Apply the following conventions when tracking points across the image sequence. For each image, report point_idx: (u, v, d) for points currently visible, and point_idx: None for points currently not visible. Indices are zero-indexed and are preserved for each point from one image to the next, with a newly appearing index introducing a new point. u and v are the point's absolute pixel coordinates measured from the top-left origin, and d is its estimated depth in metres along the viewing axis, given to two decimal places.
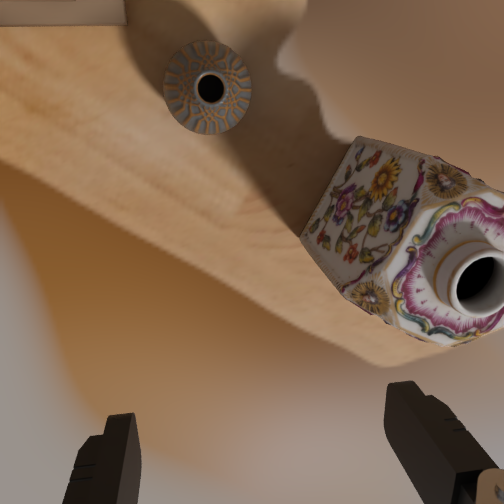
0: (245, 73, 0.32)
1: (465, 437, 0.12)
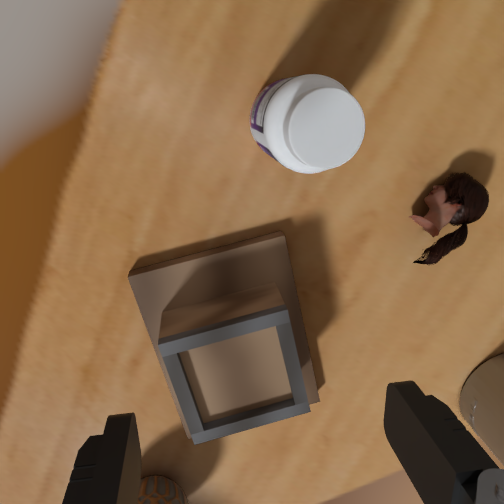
0: None
1: (465, 437, 0.12)
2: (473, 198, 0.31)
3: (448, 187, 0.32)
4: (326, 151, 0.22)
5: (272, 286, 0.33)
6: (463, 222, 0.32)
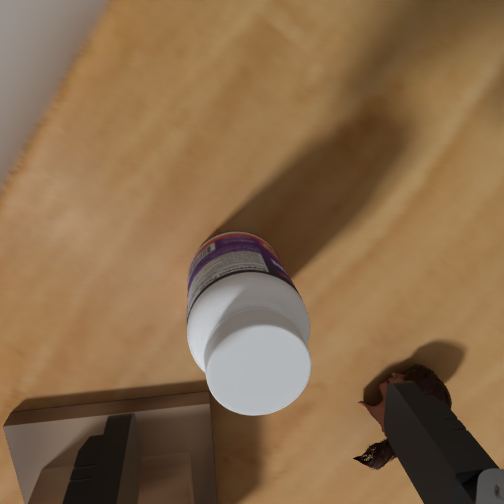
0: None
1: (465, 437, 0.12)
2: None
3: None
4: (254, 396, 0.16)
5: (184, 460, 0.27)
6: None
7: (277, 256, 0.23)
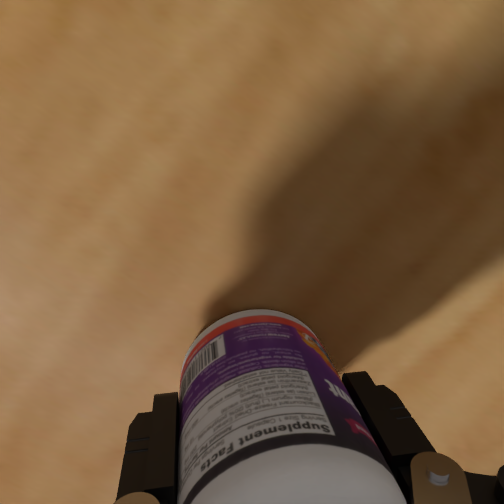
0: None
1: (409, 424, 0.12)
2: None
3: None
4: None
5: None
6: None
7: (326, 354, 0.14)
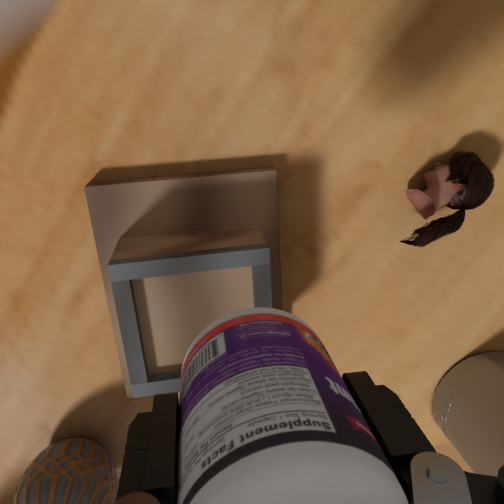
0: None
1: (409, 424, 0.12)
2: (478, 180, 0.28)
3: (453, 164, 0.29)
4: None
5: (253, 227, 0.28)
6: (461, 206, 0.29)
7: (326, 352, 0.14)
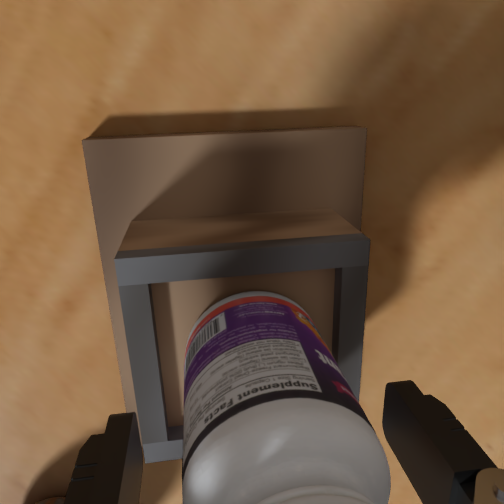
0: None
1: (463, 436, 0.12)
2: None
3: None
4: None
5: (328, 212, 0.19)
6: None
7: (318, 331, 0.15)
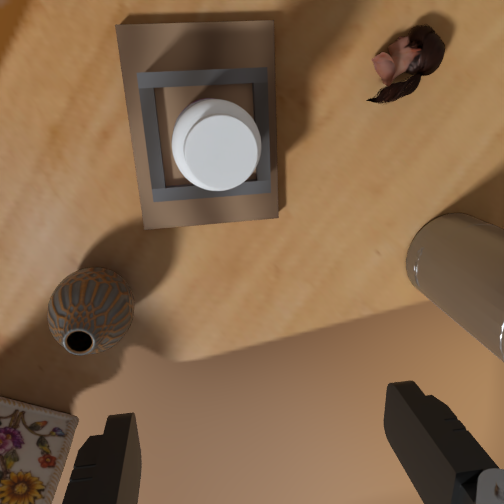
0: None
1: (465, 437, 0.12)
2: (431, 46, 0.34)
3: (412, 33, 0.35)
4: (219, 172, 0.23)
5: None
6: (418, 71, 0.35)
7: None
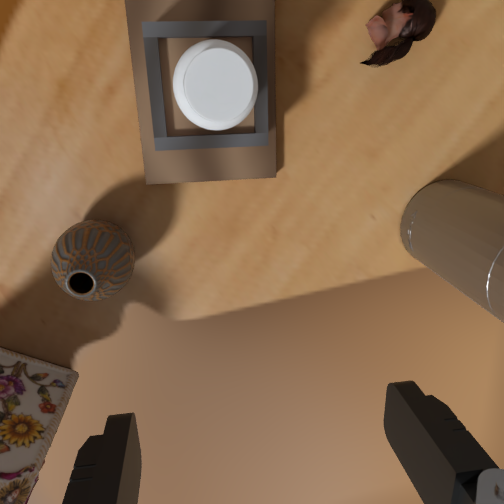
0: (106, 297, 0.37)
1: (465, 437, 0.12)
2: (423, 10, 0.35)
3: None
4: (216, 105, 0.25)
5: None
6: (410, 35, 0.36)
7: None
